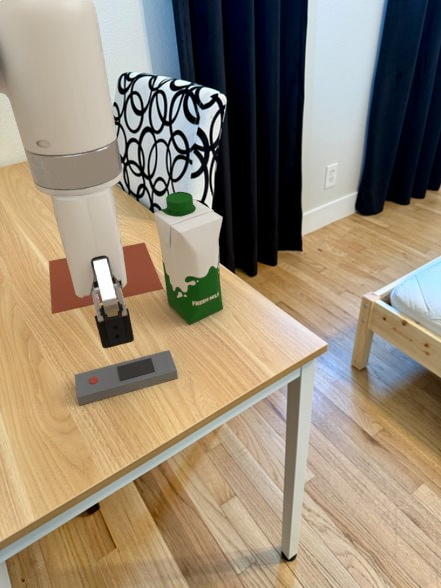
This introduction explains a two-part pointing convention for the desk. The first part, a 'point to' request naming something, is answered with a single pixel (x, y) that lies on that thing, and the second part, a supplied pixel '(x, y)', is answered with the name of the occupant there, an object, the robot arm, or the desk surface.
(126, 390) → the remote
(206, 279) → the milk carton
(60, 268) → the mat
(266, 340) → the desk surface
